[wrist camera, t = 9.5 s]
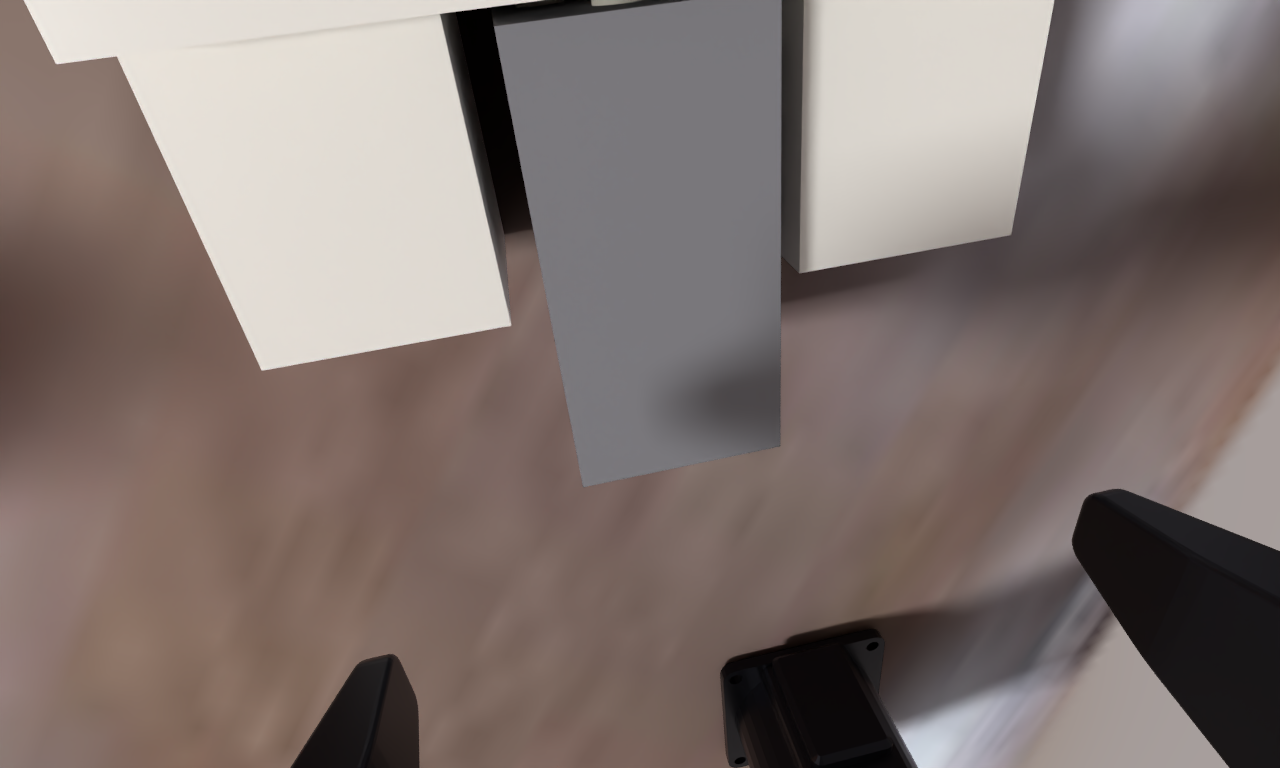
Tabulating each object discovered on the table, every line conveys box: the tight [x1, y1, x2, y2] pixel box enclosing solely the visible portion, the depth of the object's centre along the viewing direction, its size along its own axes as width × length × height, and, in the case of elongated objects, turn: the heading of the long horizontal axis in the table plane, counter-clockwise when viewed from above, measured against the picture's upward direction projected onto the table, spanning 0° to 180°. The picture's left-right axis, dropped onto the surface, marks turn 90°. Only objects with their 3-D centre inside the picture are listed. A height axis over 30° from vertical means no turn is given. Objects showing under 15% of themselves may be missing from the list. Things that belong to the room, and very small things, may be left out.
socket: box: [24, 0, 1054, 371], centre depth 11 cm, size 9×14×7 cm, turn 96°
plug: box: [491, 0, 782, 487], centre depth 14 cm, size 10×4×6 cm, turn 6°
